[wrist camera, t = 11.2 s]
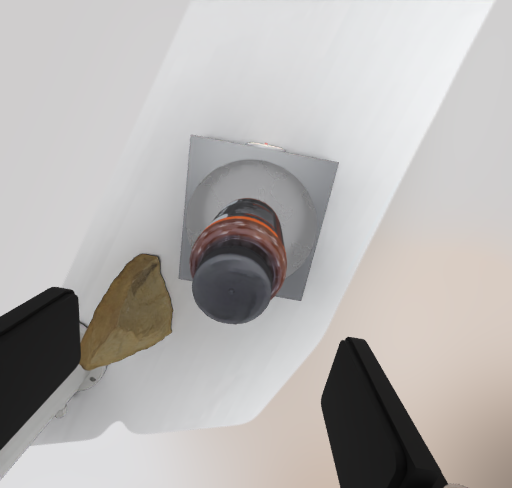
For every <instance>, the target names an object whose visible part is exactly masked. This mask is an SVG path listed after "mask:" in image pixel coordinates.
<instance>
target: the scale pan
mask: <svg viewBox="0 0 512 488" xmlns="http://www.w3.org/2000/svg"><path fill="white" fill-rule="evenodd" d="M242 198H253V199H257V200H260V201H262V202H264V203H266V204H267V205H269V206H270V207H271V208H272V209H273V210H274V212H275V213H276V215H277V217H278V219H279V222H280V225H281V229H282V234H283V240H284V246H285V252H286V258H287V270H286V277H285V278H287V277H288V276H290V275H291V274H293V273H294V272H295V271H296V270H297V269H298V268H299V267H300V266H301V265H302V264H303V263H304V261H305V260H306V258H307V257H308V255H309V253H310V251H311V249H312V247H313V244H314V241H315V237H316V231H317V219H316V212H315V207H314V204H313V202H312V199H311V197H310V195H309V193H308V191H307V190H306V189H305V187H304V186H303V184H302V183H301V182H300V181H299V180H298V179H297V178H296V177H295V176H294V175H292V174H291V173H290V172H289V171H287V170H285V169H284V168H282V167H280V166H278V165H276V164H273V163H270V162H266V161H262V160H239V161H234V162H231V163H228V164H225V165H223V166H221V167H219V168H217V169H215V170H214V171H212V172H211V173H210V174H208V175H207V176H206V177H205V178H204V179H203V180H202V181H201V182H200V184H199V185H198V186H197V188H196V189H195V191H194V192H193V194H192V197H191V199H190V201H189V205H188V208H187V214H186V229H187V235H188V239H189V243H190V245H191V248H193V245H194V243H195V242H196V240H197V239H198V237H199V236H200V234H201V233H202V232H203V231H204V229H205V228H206V227H207V226H208V225H209V224H210V223H211V222H212V221H213V220H214V218H215V217H216V216H217V215H218V213H219V212H220V211H221V210H222V209H223V208H224V207H225V206H227V205H228V204H229V203H231V202H233V201H235V200H238V199H242Z"/></svg>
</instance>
